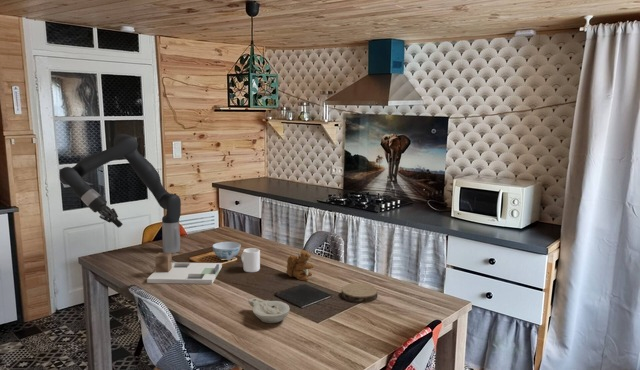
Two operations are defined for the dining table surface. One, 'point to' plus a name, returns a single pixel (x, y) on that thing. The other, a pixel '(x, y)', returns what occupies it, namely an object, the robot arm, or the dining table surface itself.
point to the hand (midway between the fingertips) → (120, 226)
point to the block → (163, 262)
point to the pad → (209, 271)
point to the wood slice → (359, 292)
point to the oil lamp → (269, 310)
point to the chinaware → (226, 249)
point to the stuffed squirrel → (299, 266)
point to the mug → (251, 259)
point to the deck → (186, 274)
